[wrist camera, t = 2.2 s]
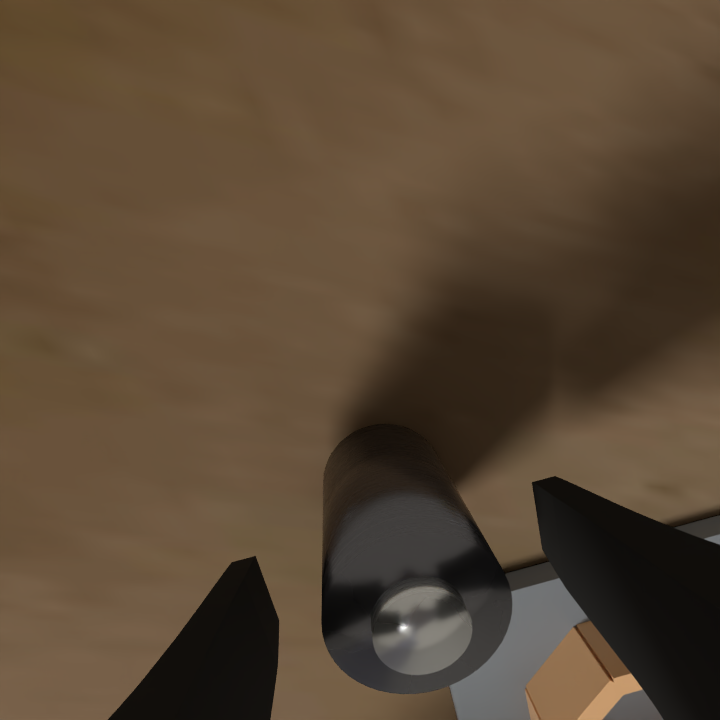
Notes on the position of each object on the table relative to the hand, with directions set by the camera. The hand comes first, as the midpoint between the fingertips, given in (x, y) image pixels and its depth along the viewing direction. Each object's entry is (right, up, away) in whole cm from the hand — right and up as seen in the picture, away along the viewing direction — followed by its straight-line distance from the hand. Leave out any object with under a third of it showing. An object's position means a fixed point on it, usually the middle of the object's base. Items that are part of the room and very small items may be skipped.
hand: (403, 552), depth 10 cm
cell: (0, +1, +4) cm, 4 cm away
